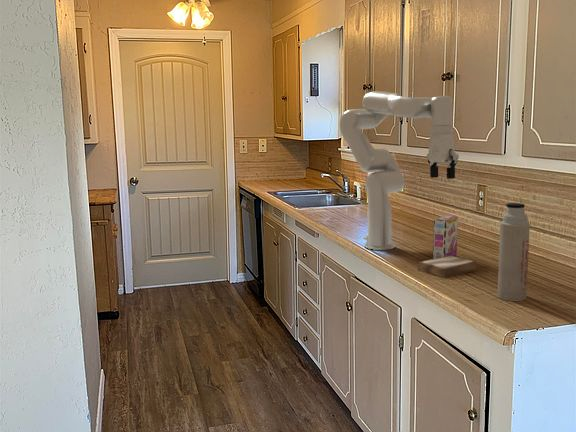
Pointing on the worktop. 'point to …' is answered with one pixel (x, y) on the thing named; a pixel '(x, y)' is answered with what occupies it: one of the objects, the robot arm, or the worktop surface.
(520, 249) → the thermos bottle
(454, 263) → the base
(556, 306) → the worktop surface
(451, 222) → the candy bar box
